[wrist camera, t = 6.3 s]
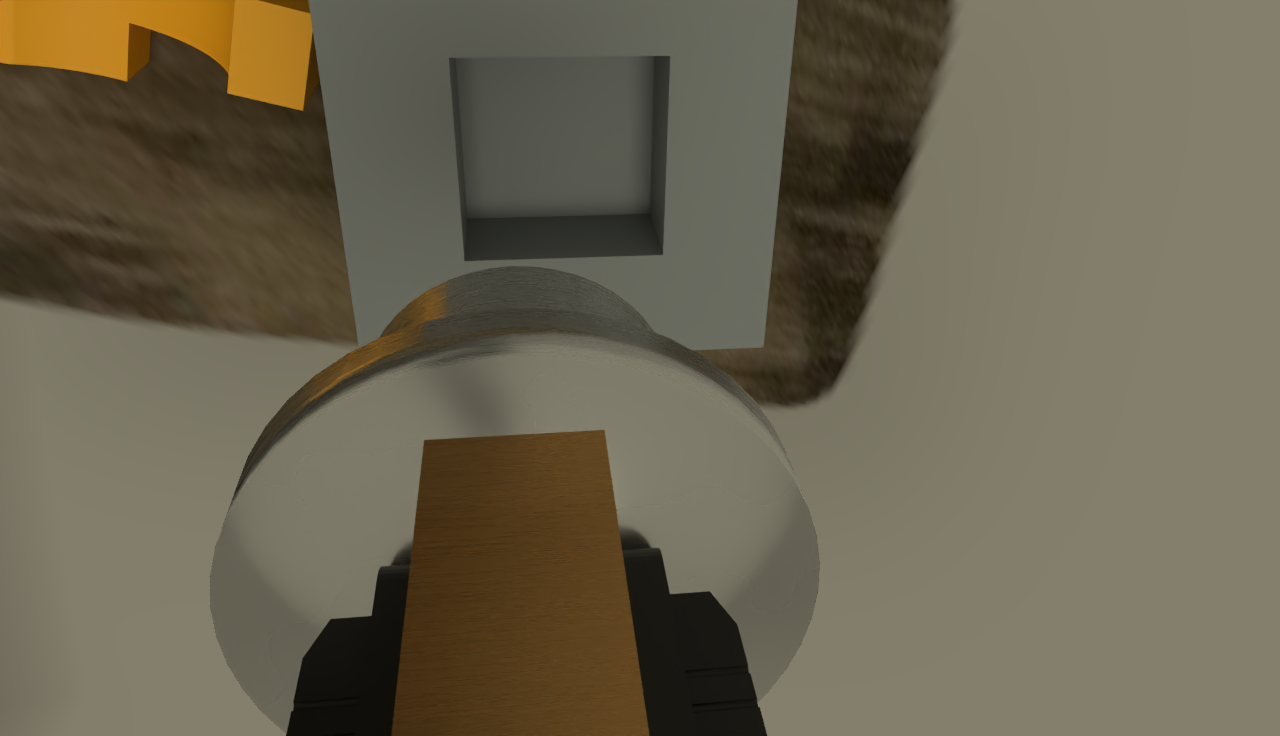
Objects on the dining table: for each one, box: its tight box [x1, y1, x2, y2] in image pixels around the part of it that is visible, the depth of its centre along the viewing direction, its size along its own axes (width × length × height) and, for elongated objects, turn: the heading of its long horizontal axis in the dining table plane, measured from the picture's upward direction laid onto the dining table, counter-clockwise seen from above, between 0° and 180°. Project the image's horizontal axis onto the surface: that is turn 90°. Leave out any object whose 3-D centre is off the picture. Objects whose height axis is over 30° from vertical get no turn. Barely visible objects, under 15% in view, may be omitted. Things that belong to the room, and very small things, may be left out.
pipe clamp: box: [0, 0, 320, 111], centre depth 28 cm, size 12×4×6 cm, turn 74°
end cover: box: [210, 266, 820, 736], centre depth 11 cm, size 7×7×9 cm
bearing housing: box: [308, 0, 798, 350], centre depth 30 cm, size 12×12×8 cm
